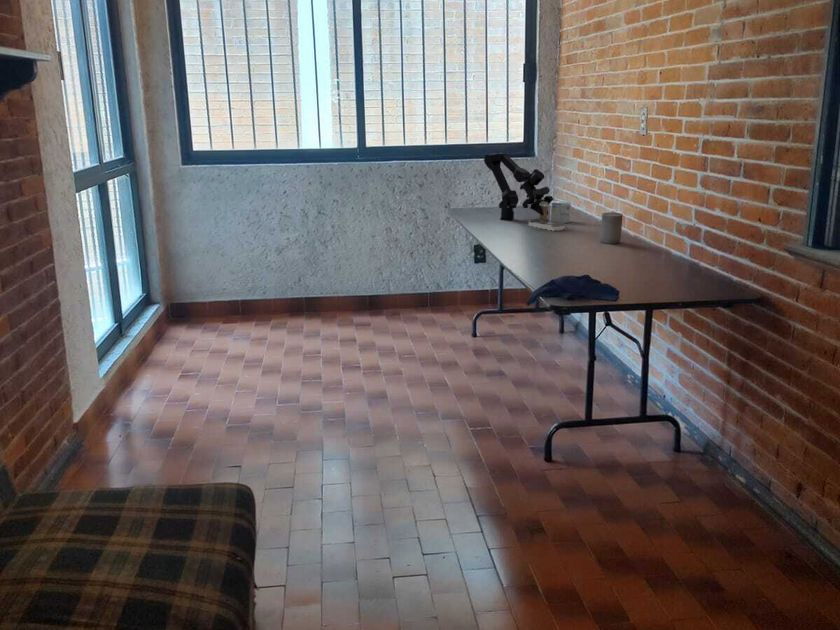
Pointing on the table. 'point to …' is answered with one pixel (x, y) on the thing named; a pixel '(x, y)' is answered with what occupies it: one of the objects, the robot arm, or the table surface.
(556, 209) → the light bulb box
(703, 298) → the table surface
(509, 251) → the table surface
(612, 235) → the pillar candle
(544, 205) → the fader
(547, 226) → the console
